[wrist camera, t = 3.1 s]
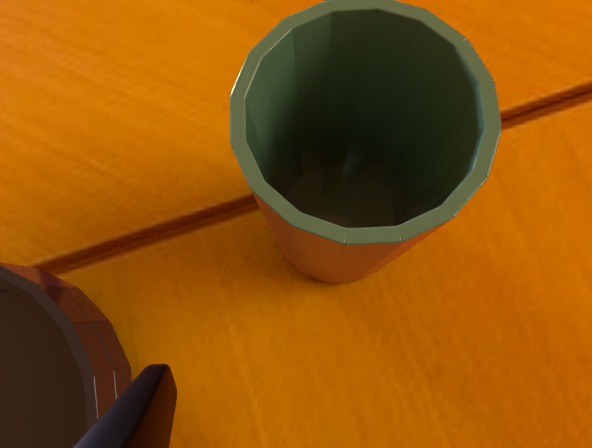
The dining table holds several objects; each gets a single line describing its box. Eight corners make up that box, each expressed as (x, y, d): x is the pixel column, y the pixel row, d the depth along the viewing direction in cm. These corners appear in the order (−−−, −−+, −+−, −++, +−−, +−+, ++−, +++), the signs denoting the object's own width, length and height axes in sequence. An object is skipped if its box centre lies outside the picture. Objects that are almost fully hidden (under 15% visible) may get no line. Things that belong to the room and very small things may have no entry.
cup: (425, 216, 22) (556, 100, 10) (342, 310, 21) (378, 304, 9) (331, 138, 23) (349, -47, 11) (248, 224, 22) (174, 122, 10)
